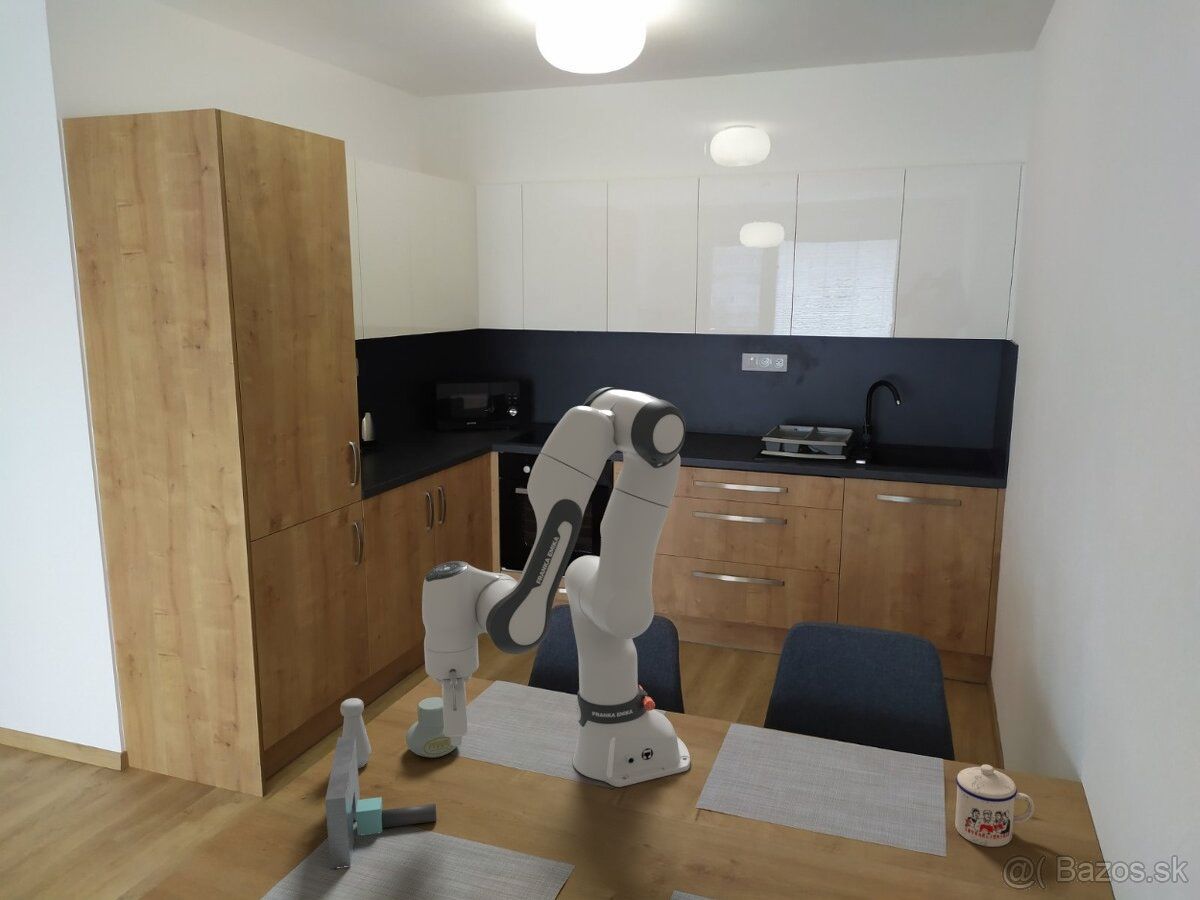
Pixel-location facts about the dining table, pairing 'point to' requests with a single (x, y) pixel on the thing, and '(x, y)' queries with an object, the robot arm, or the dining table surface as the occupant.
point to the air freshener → (429, 730)
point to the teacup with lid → (987, 806)
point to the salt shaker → (356, 728)
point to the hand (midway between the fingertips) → (455, 735)
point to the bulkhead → (342, 802)
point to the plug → (389, 815)
